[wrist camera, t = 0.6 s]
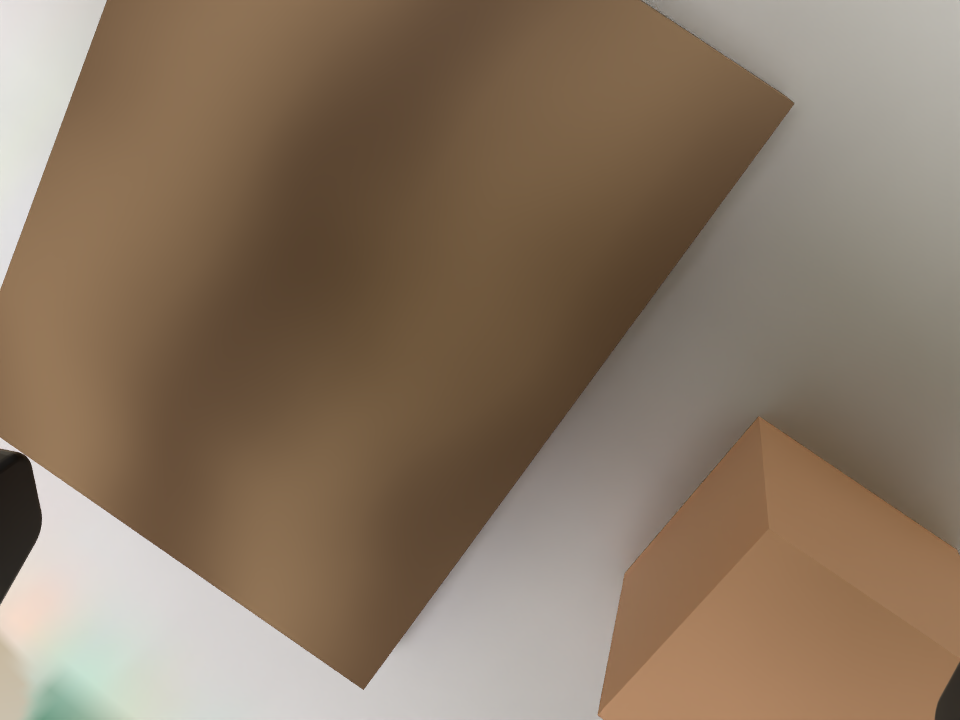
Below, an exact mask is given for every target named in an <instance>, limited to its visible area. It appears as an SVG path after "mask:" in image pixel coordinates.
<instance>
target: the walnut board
mask: <svg viewBox="0 0 960 720" xmlns="http://www.w3.org/2000/svg"><path fill="white" fill-rule="evenodd" d="M793 105H794V103H793V102H792V101H791V100H790V99H789V98H788V97H786V96H785V95H783V94H782V93H780V92H779V91H777V90H776V89H774V88H773V87H771V86H770V85H768V84H767V83H765V82H764V81H762V80H761V79H759V78H758V77H756V76H755V75H753V74H752V73H750V72H749V71H747V70H746V69H744V68H743V67H741V66H740V65H738V64H737V63H735V62H734V61H732V60H731V59H729V58H727V57H726V56H724V55H723V54H721V53H720V52H718V51H717V50H715V49H714V48H712V47H711V46H709V45H708V44H706V43H705V42H703V41H702V40H700V39H699V38H697V37H696V36H694V35H693V34H691V33H690V32H688V31H687V30H685V29H684V28H682V27H681V26H679V25H678V24H676V23H675V22H673V21H672V20H670V19H669V18H667V17H666V16H664V15H663V14H661V13H660V12H658V11H657V10H655V9H654V8H652V7H650V6H649V5H647V4H646V3H644V2H643V1H641V0H107V2H106V5H105V7H104V10H103V13H102V15H101V18H100V21H99V24H98V26H97V29H96V32H95V34H94V37H93V40H92V43H91V45H90V48H89V51H88V53H87V56H86V59H85V62H84V64H83V67H82V70H81V72H80V75H79V78H78V81H77V83H76V86H75V89H74V91H73V94H72V97H71V100H70V102H69V105H68V108H67V110H66V113H65V116H64V119H63V121H62V124H61V127H60V129H59V132H58V135H57V138H56V140H55V143H54V146H53V148H52V151H51V154H50V156H49V159H48V162H47V165H46V167H45V170H44V173H43V175H42V178H41V181H40V184H39V186H38V189H37V192H36V194H35V197H34V200H33V203H32V205H31V208H30V211H29V213H28V216H27V219H26V222H25V224H24V227H23V230H22V232H21V235H20V238H19V241H18V243H17V246H16V249H15V251H14V254H13V257H12V260H11V262H10V265H9V268H8V270H7V273H6V276H5V279H4V281H3V284H2V287H1V289H0V437H1V438H2V439H3V440H5V441H6V442H8V443H9V444H11V445H12V446H14V447H15V448H16V449H18V450H19V451H21V452H22V453H24V454H25V455H26V456H28V457H29V458H31V459H32V460H34V461H35V462H37V463H38V464H39V465H41V466H42V467H44V468H45V469H47V470H48V471H49V472H51V473H52V474H54V475H55V476H57V477H58V478H60V479H61V480H62V481H64V482H65V483H67V484H68V485H70V486H71V487H72V488H74V489H75V490H77V491H78V492H80V493H81V494H83V495H84V496H85V497H87V498H88V499H90V500H91V501H93V502H94V503H95V504H97V505H98V506H100V507H101V508H103V509H104V510H106V511H107V512H108V513H110V514H111V515H113V516H114V517H116V518H117V519H118V520H120V521H121V522H123V523H124V524H126V525H127V526H129V527H130V528H131V529H133V530H134V531H136V532H137V533H139V534H140V535H142V536H143V537H144V538H146V539H147V540H149V541H150V542H152V543H153V544H154V545H156V546H157V547H159V548H160V549H162V550H163V551H165V552H166V553H167V554H169V555H170V556H172V557H173V558H175V559H176V560H177V561H179V562H180V563H182V564H183V565H185V566H186V567H188V568H189V569H190V570H192V571H193V572H195V573H196V574H198V575H199V576H200V577H202V578H203V579H205V580H206V581H208V582H209V583H211V584H212V585H213V586H215V587H216V588H218V589H219V590H221V591H222V592H223V593H225V594H226V595H228V596H229V597H231V598H232V599H234V600H235V601H236V602H238V603H239V604H241V605H242V606H244V607H245V608H246V609H248V610H249V611H251V612H252V613H254V614H255V615H257V616H258V617H259V618H261V619H262V620H264V621H265V622H267V623H268V624H270V625H271V626H272V627H274V628H275V629H277V630H278V631H280V632H281V633H282V634H284V635H285V636H287V637H288V638H290V639H291V640H293V641H294V642H295V643H297V644H298V645H300V646H301V647H303V648H304V649H305V650H307V651H308V652H310V653H311V654H313V655H314V656H316V657H317V658H318V659H320V660H321V661H323V662H324V663H326V664H327V665H328V666H330V667H331V668H333V669H334V670H336V671H337V672H339V673H340V674H341V675H343V676H344V677H346V678H347V679H349V680H350V681H351V682H353V683H354V684H356V685H357V686H359V687H360V688H362V689H363V690H364V688H365V687H366V686H367V684H368V683H369V682H370V680H371V679H372V678H373V676H374V675H375V673H376V672H377V671H378V669H379V668H380V667H381V665H382V664H383V663H384V661H385V660H386V659H387V657H388V656H389V654H390V653H391V652H392V650H393V649H394V648H395V646H396V645H397V644H398V642H399V641H400V639H401V638H402V637H403V635H404V634H405V633H406V631H407V630H408V629H409V627H410V626H411V625H412V623H413V622H414V620H415V619H416V618H417V616H418V615H419V614H420V612H421V611H422V610H423V608H424V607H425V605H426V604H427V603H428V601H429V600H430V599H431V597H432V596H433V595H434V593H435V592H436V591H437V589H438V588H439V586H440V585H441V584H442V582H443V581H444V580H445V578H446V577H447V576H448V574H449V573H450V571H451V570H452V569H453V567H454V566H455V565H456V563H457V562H458V561H459V559H460V558H461V556H462V555H463V554H464V552H465V551H466V550H467V548H468V547H469V546H470V544H471V543H472V542H473V540H474V539H475V537H476V536H477V535H478V533H479V532H480V531H481V529H482V528H483V527H484V525H485V524H486V522H487V521H488V520H489V518H490V517H491V516H492V514H493V513H494V512H495V510H496V509H497V508H498V506H499V505H500V503H501V502H502V501H503V499H504V498H505V497H506V495H507V494H508V493H509V491H510V490H511V488H512V487H513V486H514V484H515V483H516V482H517V480H518V479H519V478H520V476H521V475H522V473H523V472H524V471H525V469H526V468H527V467H528V465H529V464H530V463H531V461H532V460H533V459H534V457H535V456H536V454H537V453H538V452H539V450H540V449H541V448H542V446H543V445H544V444H545V442H546V441H547V439H548V438H549V437H550V435H551V434H552V433H553V431H554V430H555V429H556V427H557V426H558V425H559V423H560V422H561V420H562V419H563V418H564V416H565V415H566V414H567V412H568V411H569V410H570V408H571V407H572V405H573V404H574V403H575V401H576V400H577V399H578V397H579V396H580V395H581V393H582V392H583V391H584V389H585V388H586V386H587V385H588V384H589V382H590V381H591V380H592V378H593V377H594V376H595V374H596V373H597V371H598V370H599V369H600V367H601V366H602V365H603V363H604V362H605V361H606V359H607V358H608V356H609V355H610V354H611V352H612V351H613V350H614V348H615V347H616V346H617V344H618V343H619V342H620V340H621V339H622V337H623V336H624V335H625V333H626V332H627V331H628V329H629V328H630V327H631V325H632V324H633V322H634V321H635V320H636V318H637V317H638V316H639V314H640V313H641V312H642V310H643V309H644V308H645V306H646V305H647V303H648V302H649V301H650V299H651V298H652V297H653V295H654V294H655V293H656V291H657V290H658V288H659V287H660V286H661V284H662V283H663V282H664V280H665V279H666V278H667V276H668V275H669V274H670V272H671V271H672V269H673V268H674V267H675V265H676V264H677V263H678V261H679V260H680V259H681V257H682V256H683V254H684V253H685V252H686V250H687V249H688V248H689V246H690V245H691V244H692V242H693V241H694V239H695V238H696V237H697V235H698V234H699V233H700V231H701V230H702V229H703V227H704V226H705V225H706V223H707V222H708V220H709V219H710V218H711V216H712V215H713V214H714V212H715V211H716V210H717V208H718V207H719V205H720V204H721V203H722V201H723V200H724V199H725V197H726V196H727V195H728V193H729V192H730V191H731V189H732V188H733V186H734V185H735V184H736V182H737V181H738V180H739V178H740V177H741V176H742V174H743V173H744V171H745V170H746V169H747V167H748V166H749V165H750V163H751V162H752V161H753V159H754V158H755V156H756V155H757V154H758V152H759V151H760V150H761V148H762V147H763V146H764V144H765V143H766V142H767V140H768V139H769V137H770V136H771V135H772V133H773V132H774V131H775V129H776V128H777V127H778V125H779V124H780V122H781V121H782V120H783V118H784V117H785V116H786V114H787V113H788V112H789V110H790V109H791V108H792V106H793Z"/></svg>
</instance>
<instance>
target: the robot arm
mask: <svg viewBox="0 0 960 720" xmlns="http://www.w3.org/2000/svg"><path fill="white" fill-rule="evenodd" d="M41 525H42V513H41V508H40V503H39V499H38V494H37V489H36V484H35V479H34V475H33V470H32V466H31V463H30V461H29V459H28V458H27V457H26V456H25V455H23V454H21V453H19V452H15V451H9V450H4V449H0V605H1V603H2V601H3V599H4V598H5V596H6V594H7V592H8V590H9V589H10V587H11V585H12V583H13V582H14V580H15V578H16V576H17V575H18V573H19V571H20V569H21V568H22V566H23V564H24V562H25V560H26V559H27V557H28V555H29V553H30V552H31V550H32V548H33V546H34V545H35V543H36V541H37V539H38V536H39V533H40V530H41ZM935 720H960V662H959V664H958V665H957V667H956V669H955V671H954V673H953V675H952V676H951V678H950V680H949V682H948V684H947V685H946V687H945V689H944V691H943V693H942V695H941V696H940V698H939V701H938V703H937V707H936V712H935Z"/></svg>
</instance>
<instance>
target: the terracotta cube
mask: <svg viewBox="0 0 960 720" xmlns="http://www.w3.org/2000/svg"><path fill="white" fill-rule="evenodd" d="M959 662H960V556H959V553H958V551H957V550H956V549H955V548H953V547H952V546H950V545H949V544H947V543H946V542H944V541H943V540H941V539H940V538H938V537H937V536H935V535H934V534H933V533H931V532H930V531H928V530H927V529H925V528H924V527H922V526H921V525H919V524H918V523H916V522H915V521H913V520H912V519H910V518H909V517H907V516H906V515H904V514H903V513H901V512H900V511H899V510H897V509H896V508H894V507H893V506H891V505H890V504H888V503H887V502H885V501H884V500H882V499H881V498H879V497H878V496H876V495H875V494H873V493H872V492H870V491H869V490H867V489H866V488H864V487H863V486H862V485H860V484H859V483H857V482H856V481H854V480H853V479H851V478H850V477H848V476H847V475H845V474H844V473H842V472H841V471H839V470H838V469H836V468H835V467H833V466H832V465H830V464H829V463H827V462H826V461H825V460H823V459H822V458H820V457H819V456H817V455H816V454H814V453H813V452H811V451H810V450H808V449H807V448H805V447H804V446H802V445H801V444H799V443H798V442H796V441H795V440H793V439H792V438H791V437H789V436H788V435H786V434H785V433H783V432H782V431H780V430H779V429H777V428H776V427H774V426H773V425H771V424H770V423H768V422H767V421H765V420H764V419H762V418H761V417H758V418H757V419H756V420H755V421H754V422H753V424H752V425H751V426H750V427H749V428H748V429H747V431H746V432H745V433H744V434H743V435H742V436H741V438H740V439H739V440H738V441H737V442H736V443H735V445H734V446H733V447H732V448H731V449H730V451H729V452H728V453H727V454H726V455H725V456H724V458H723V459H722V460H721V461H720V462H719V463H718V465H717V466H716V467H715V468H714V469H713V470H712V472H711V473H710V474H709V475H708V476H707V478H706V479H705V480H704V481H703V482H702V483H701V485H700V486H699V487H698V488H697V489H696V490H695V492H694V493H693V494H692V495H691V496H690V497H689V499H688V500H687V501H686V502H685V503H684V504H683V506H682V507H681V508H680V509H679V510H678V512H677V513H676V514H675V515H674V516H673V517H672V519H671V520H670V521H669V522H668V523H667V524H666V526H665V527H664V528H663V529H662V530H661V531H660V533H659V534H658V535H657V536H656V537H655V538H654V540H653V541H652V542H651V543H650V544H649V546H648V547H647V548H646V549H645V550H644V551H643V553H642V554H641V555H640V556H639V557H638V558H637V560H636V561H635V562H634V563H633V564H632V565H631V567H630V568H629V569H628V570H627V571H626V572H625V574H624V579H623V585H622V590H621V595H620V600H619V606H618V611H617V616H616V621H615V626H614V632H613V637H612V642H611V647H610V653H609V658H608V663H607V668H606V674H605V679H604V684H603V689H602V694H601V700H600V705H599V710H598V716H600V717H601V718H602V719H604V720H935V712H936V707H937V703H938V701H939V698H940V696H941V695H942V693H943V691H944V689H945V687H946V685H947V684H948V682H949V680H950V678H951V676H952V675H953V673H954V671H955V669H956V667H957V665H958V664H959Z"/></svg>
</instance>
